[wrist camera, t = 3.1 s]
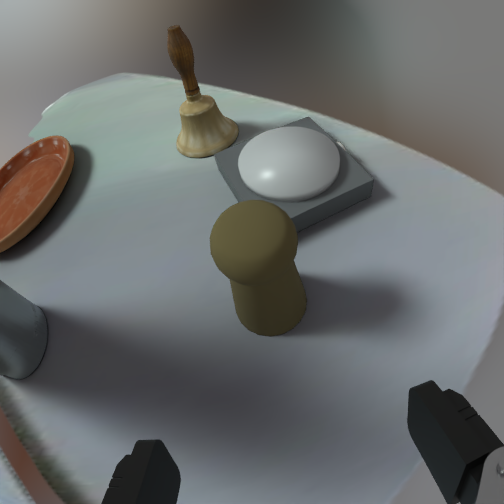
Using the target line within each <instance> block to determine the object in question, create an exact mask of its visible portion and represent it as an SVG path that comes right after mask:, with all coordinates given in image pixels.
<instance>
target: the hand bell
mask: <svg viewBox="0 0 504 504" xmlns="http://www.w3.org/2000/svg"><path fill="white" fill-rule="evenodd" d="M167 43H168V53H169V56H170V59H171V61H172V63H173V65H174V67H175V68H176V69H177V71H178V72H179V74H180V75H181V78H182V81H183V85H184V89H185V93H186V97H187V100H186V101H185V102H184V103H183V104H182V105H181V106H180V109H179V112H180V116H181V122H182V130H181V132H180V134H179V136H178V138H177V149H178V151H179V152H180V153H181V154H183V155H185V156H187V157H194V158H200V157H206V156H211V155H214V154H216V153H218V152H221V151H223V150H225V149H226V148H228V147H229V146H230V145H231V144H232V143H233V142H234V141H235V140H236V138H237V136H238V132H239V130H238V126H237V125H236V123H235V122H234V121H232V120H231V119H229V118H227V117H225V116H223V115H222V113H221V112H220V110H219V109H218V107H217V105H216V102H215V100H214V99H213V98H212V97H211V96H208V95H201V93H200V89H199V86H198V83H197V80H196V77H195V74H194V56H193V50H192V46H191V44H190V41H189V39H188V38H187V36H186V35H185V34H184V32H183V31H182V30H181V28H180V26H179V25H174V26H171V27H169V28H168V42H167Z"/></svg>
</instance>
